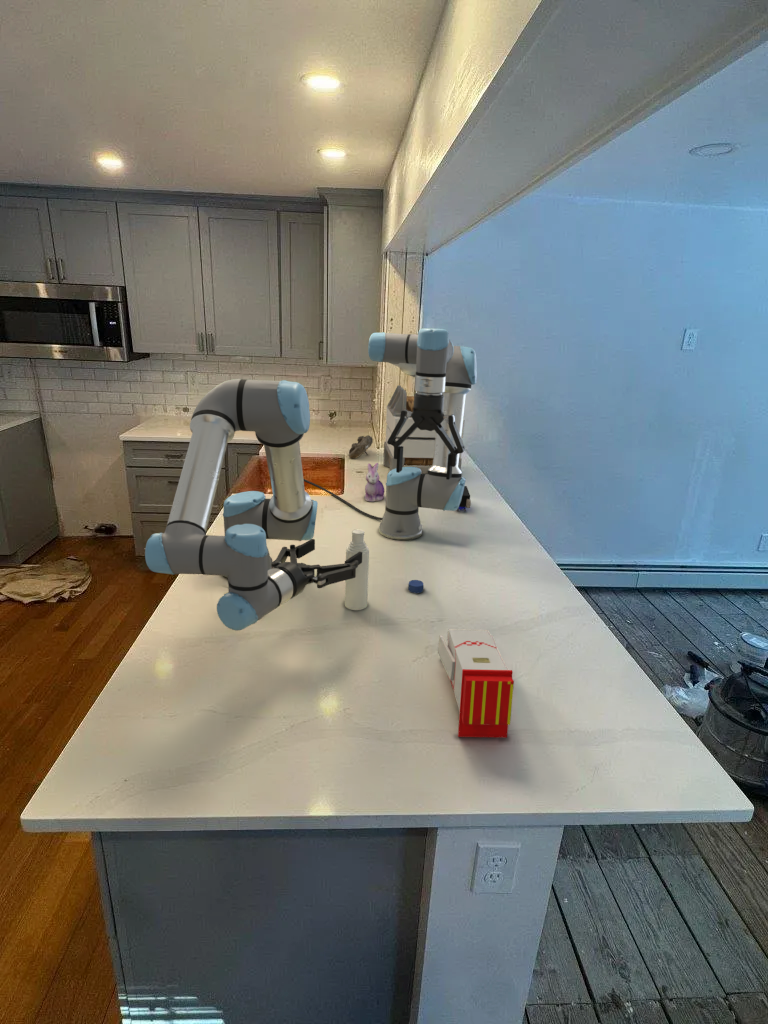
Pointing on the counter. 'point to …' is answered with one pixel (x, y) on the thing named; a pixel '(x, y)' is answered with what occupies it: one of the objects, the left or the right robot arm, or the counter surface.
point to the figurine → (373, 485)
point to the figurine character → (465, 500)
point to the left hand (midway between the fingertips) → (336, 550)
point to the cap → (415, 586)
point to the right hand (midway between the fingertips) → (423, 474)
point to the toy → (478, 682)
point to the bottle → (357, 573)
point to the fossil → (360, 446)
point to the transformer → (417, 444)
